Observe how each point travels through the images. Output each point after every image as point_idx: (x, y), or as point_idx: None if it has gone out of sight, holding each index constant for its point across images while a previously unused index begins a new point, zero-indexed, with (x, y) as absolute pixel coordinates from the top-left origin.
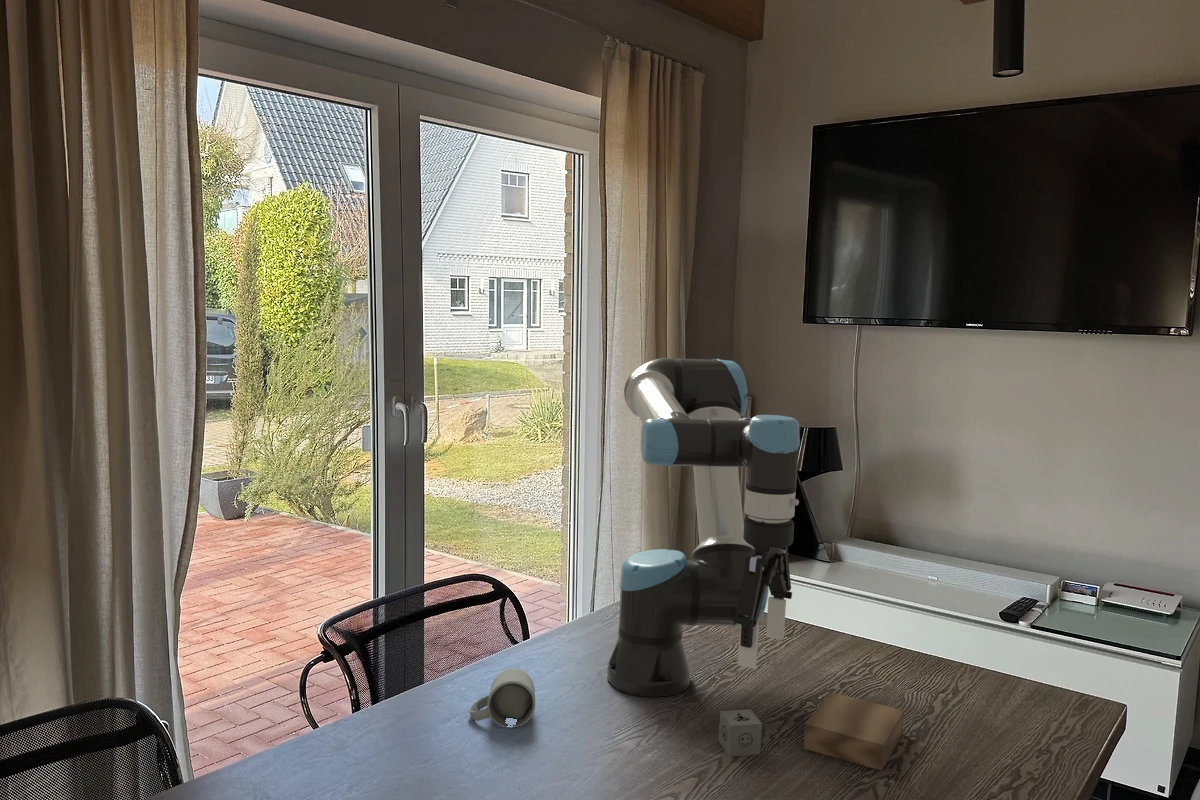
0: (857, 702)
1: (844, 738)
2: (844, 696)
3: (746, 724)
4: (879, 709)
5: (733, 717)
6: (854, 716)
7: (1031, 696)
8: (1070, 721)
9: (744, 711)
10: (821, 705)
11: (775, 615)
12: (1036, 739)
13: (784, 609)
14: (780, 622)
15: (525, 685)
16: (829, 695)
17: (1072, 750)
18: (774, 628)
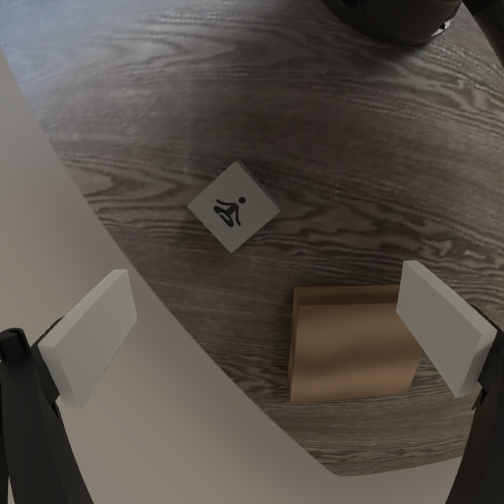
0: (414, 342)
1: (293, 358)
2: None
3: (209, 229)
4: (401, 370)
5: (222, 196)
6: (364, 355)
7: None
8: (458, 444)
9: (263, 204)
10: (383, 305)
11: (435, 327)
12: (421, 443)
13: (442, 374)
14: (421, 333)
15: None
16: None
17: (407, 460)
18: (414, 301)
